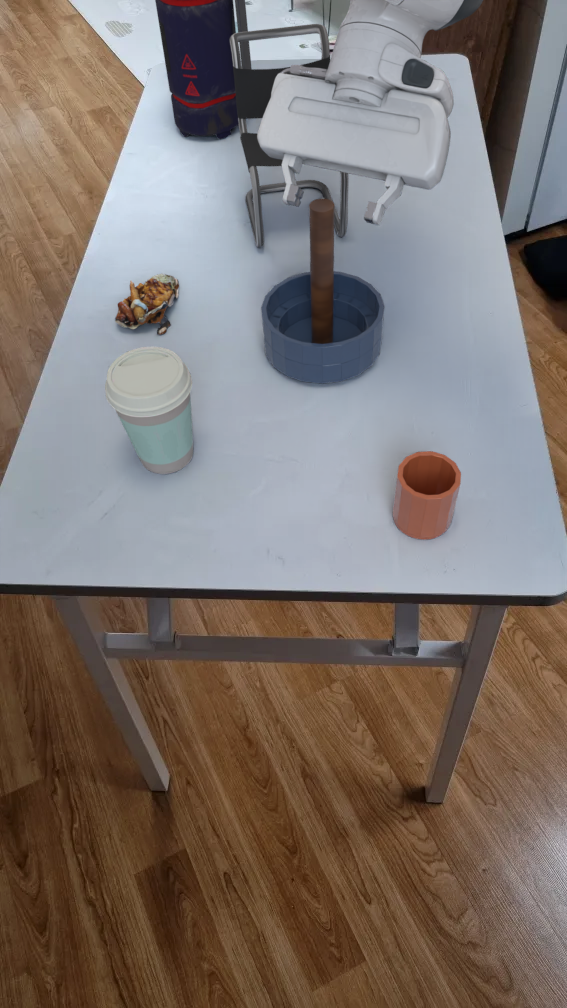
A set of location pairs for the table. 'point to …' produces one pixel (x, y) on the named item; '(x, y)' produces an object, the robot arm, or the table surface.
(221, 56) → the navy blue cylinder
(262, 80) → the chair
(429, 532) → the crock
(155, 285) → the loaded food tray
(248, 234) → the table surface
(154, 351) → the coffee cup
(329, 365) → the bowl
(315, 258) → the brown wooden rod
